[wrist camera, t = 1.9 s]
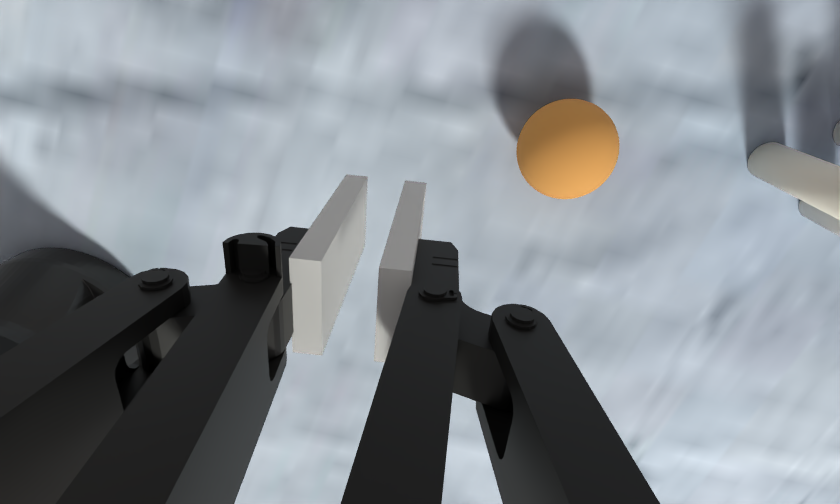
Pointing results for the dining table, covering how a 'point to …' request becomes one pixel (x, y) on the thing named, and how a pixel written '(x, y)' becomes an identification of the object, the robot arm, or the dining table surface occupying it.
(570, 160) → the ball
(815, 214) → the pin
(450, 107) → the dining table surface
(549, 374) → the robot arm
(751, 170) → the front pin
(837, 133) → the pin
